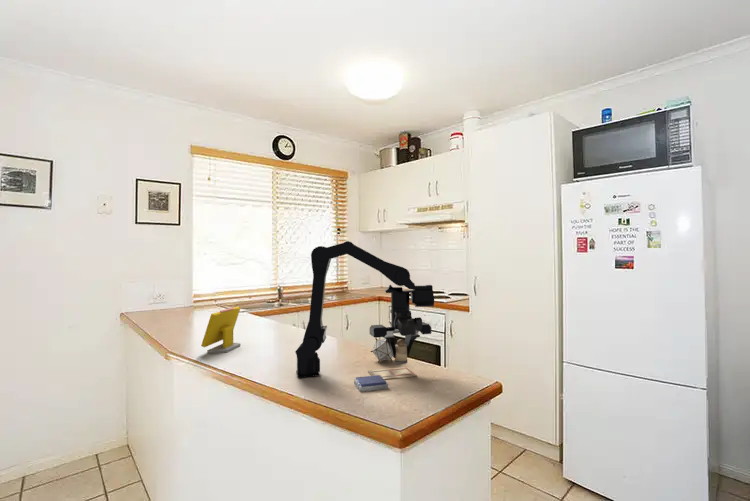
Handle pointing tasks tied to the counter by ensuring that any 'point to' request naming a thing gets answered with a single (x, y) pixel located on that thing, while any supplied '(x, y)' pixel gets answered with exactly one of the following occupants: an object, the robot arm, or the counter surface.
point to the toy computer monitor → (221, 330)
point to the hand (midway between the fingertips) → (400, 357)
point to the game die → (382, 350)
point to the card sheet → (393, 373)
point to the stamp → (401, 352)
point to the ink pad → (370, 383)
